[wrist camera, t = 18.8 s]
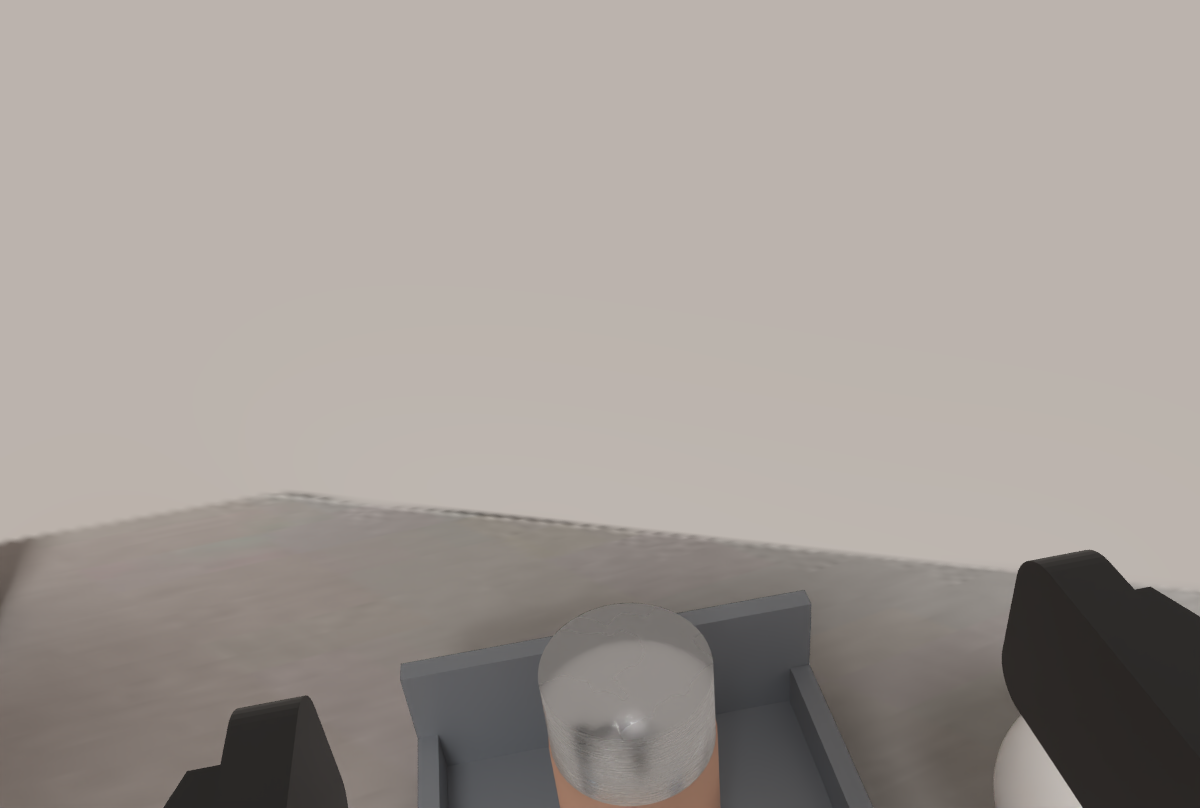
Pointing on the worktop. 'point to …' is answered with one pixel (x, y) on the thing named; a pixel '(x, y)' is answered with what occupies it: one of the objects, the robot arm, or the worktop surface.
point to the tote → (742, 711)
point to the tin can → (631, 710)
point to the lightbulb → (1028, 774)
